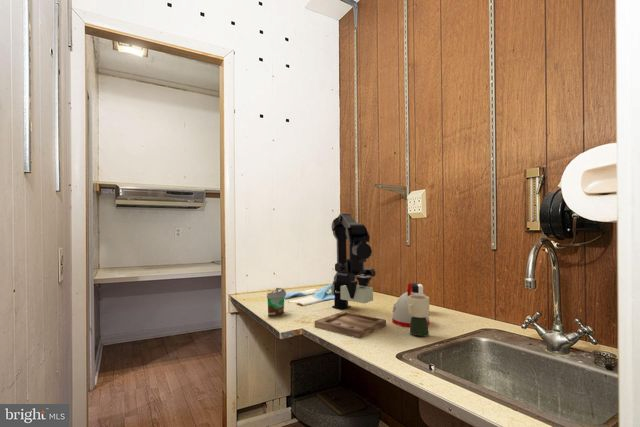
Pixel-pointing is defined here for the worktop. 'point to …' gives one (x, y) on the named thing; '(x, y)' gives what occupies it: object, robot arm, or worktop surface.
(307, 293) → the rubber gloves
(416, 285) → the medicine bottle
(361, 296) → the pale green spotted block
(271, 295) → the food container
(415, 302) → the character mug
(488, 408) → the worktop surface
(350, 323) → the brown recessed board
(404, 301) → the kitchen timer
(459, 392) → the worktop surface
